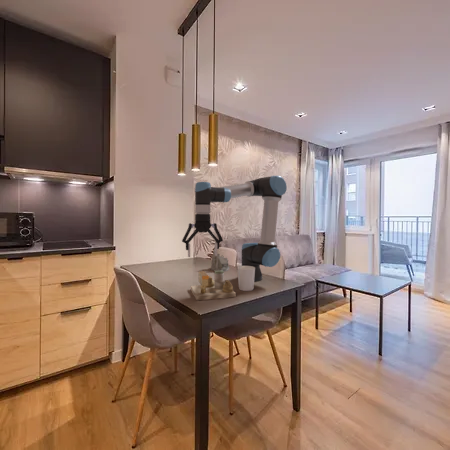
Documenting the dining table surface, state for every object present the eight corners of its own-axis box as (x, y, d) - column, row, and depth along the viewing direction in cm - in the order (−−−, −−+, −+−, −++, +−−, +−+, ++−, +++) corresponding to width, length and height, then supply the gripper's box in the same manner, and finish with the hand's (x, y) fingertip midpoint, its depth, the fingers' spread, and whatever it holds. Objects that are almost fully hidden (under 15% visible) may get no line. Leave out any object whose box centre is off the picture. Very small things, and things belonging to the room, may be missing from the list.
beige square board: (225, 286, 145) (225, 267, 145) (235, 296, 128) (236, 274, 128) (190, 289, 139) (190, 269, 139) (196, 300, 122) (196, 277, 122)
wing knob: (204, 289, 132) (204, 271, 131) (208, 295, 122) (208, 275, 122) (198, 290, 131) (198, 271, 130) (202, 296, 122) (202, 276, 121)
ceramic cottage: (217, 272, 179) (218, 251, 179) (207, 268, 193) (208, 249, 194) (235, 271, 187) (236, 251, 187) (225, 267, 201) (225, 249, 201)
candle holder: (248, 292, 135) (248, 270, 134) (233, 288, 141) (233, 267, 140) (258, 288, 142) (258, 267, 141) (244, 285, 148) (244, 264, 148)
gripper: (224, 213, 132) (224, 254, 134) (176, 213, 125) (176, 256, 126) (229, 213, 125) (228, 256, 126) (178, 213, 118) (178, 258, 119)
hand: (202, 256), depth 126 cm, fingers open, 13 cm apart
